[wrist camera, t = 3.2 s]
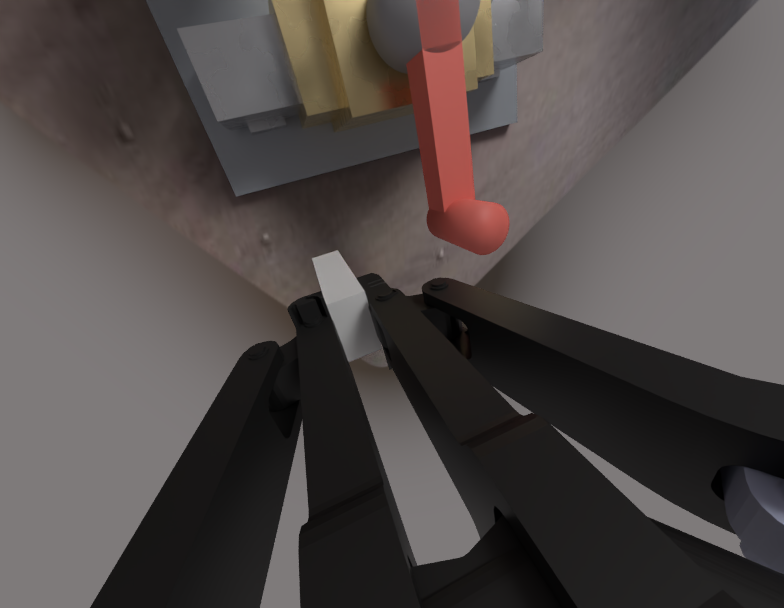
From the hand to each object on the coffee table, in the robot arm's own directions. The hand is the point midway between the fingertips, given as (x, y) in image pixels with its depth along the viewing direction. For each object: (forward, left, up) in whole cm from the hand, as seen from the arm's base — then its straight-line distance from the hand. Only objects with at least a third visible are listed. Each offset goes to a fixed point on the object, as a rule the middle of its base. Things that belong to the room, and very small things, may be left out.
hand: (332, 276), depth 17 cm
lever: (-8, -6, -2) cm, 10 cm away
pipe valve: (-8, -11, -9) cm, 17 cm away
